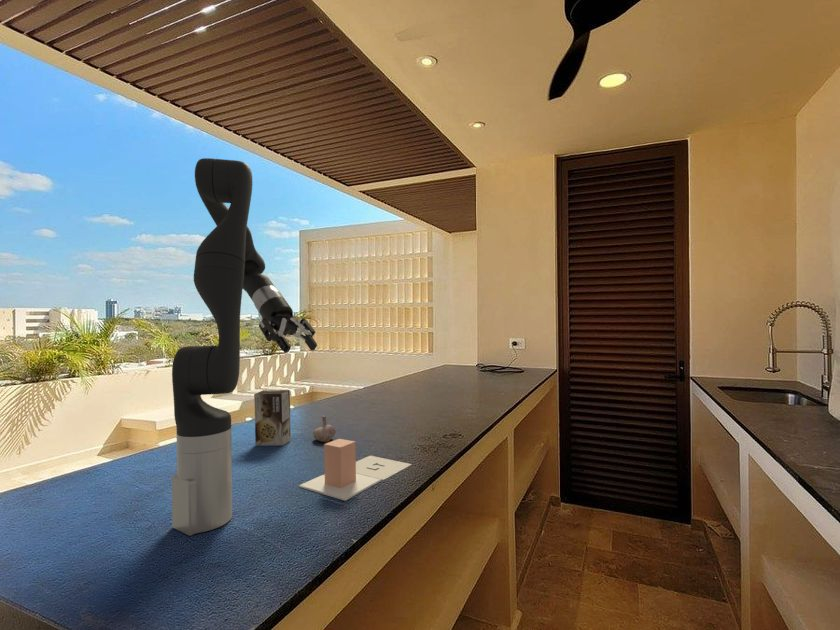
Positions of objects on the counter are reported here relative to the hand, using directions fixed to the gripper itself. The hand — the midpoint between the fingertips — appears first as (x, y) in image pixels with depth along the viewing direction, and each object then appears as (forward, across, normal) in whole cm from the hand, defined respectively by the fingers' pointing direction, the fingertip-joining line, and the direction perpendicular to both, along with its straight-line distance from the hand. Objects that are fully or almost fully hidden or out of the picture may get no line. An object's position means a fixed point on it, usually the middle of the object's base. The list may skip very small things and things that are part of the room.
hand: (301, 349), depth 104 cm
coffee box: (+3, +12, +41) cm, 43 cm away
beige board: (+32, -2, +11) cm, 34 cm away
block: (+32, -2, +11) cm, 33 cm away
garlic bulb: (+11, +22, +33) cm, 41 cm away
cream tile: (+32, +11, +11) cm, 36 cm away
